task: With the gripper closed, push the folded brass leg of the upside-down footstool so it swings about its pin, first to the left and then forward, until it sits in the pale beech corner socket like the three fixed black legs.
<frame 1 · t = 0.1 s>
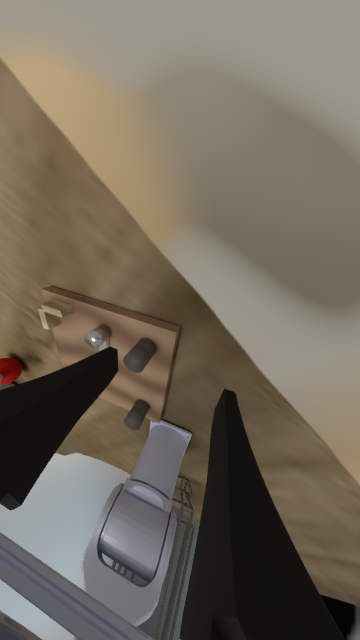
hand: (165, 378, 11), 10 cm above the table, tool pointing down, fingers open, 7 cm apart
molecular model: (20, 361, 39), on the table
stool seat: (113, 358, 28), on the table
hinged leg: (97, 357, 23), point 3 cm above the table, hinge at 0.0°
geometric lantern: (173, 480, 43), on the table
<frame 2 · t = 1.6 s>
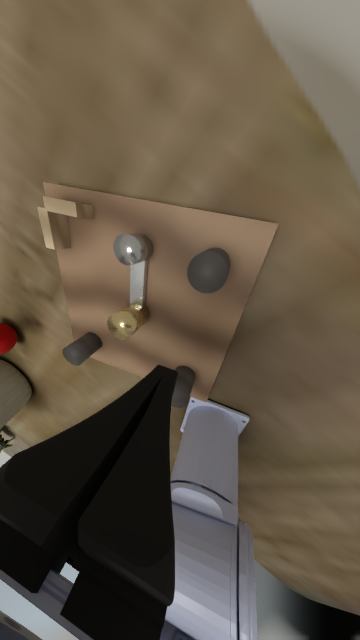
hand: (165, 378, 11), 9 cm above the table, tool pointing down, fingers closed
molecular model: (14, 330, 31), on the table
canister: (14, 375, 40), on the table
stool seat: (145, 306, 19), on the table
passion flower: (8, 430, 66), on the table
hinged leg: (130, 289, 15), point 3 cm above the table, hinge at 0.0°
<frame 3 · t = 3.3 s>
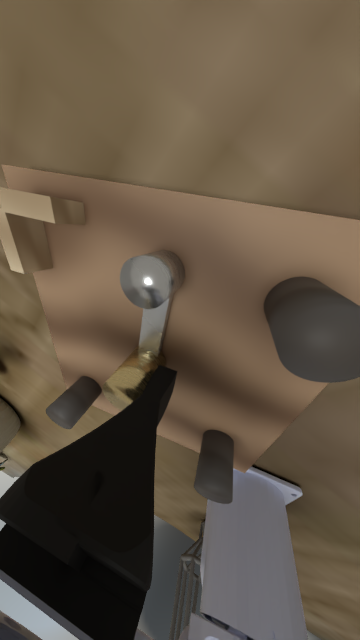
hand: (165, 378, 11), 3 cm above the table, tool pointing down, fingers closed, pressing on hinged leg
canister: (0, 404, 34), on the table
stool seat: (163, 347, 14), on the table
passion flower: (1, 451, 60), on the table
hinged leg: (142, 338, 9), point 3 cm above the table, hinge at -3.7°, touching gripper
geometric lantern: (226, 533, 29), on the table
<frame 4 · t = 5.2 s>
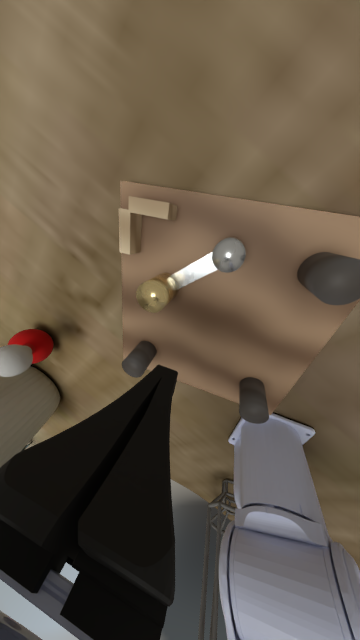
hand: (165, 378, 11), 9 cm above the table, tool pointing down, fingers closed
molecular model: (49, 336, 29), on the table
canister: (41, 382, 39), on the table
stool seat: (211, 314, 18), on the table
hinged leg: (188, 275, 13), point 3 cm above the table, hinge at -50.2°
geometric lantern: (243, 491, 33), on the table
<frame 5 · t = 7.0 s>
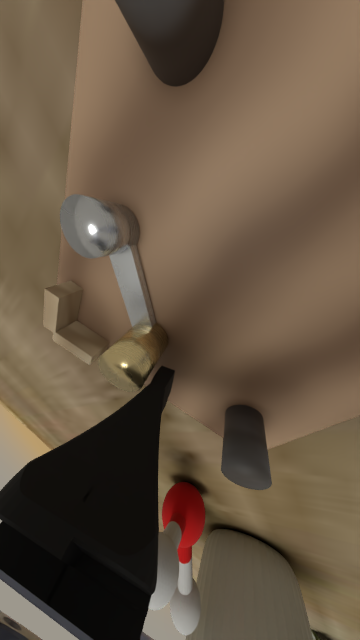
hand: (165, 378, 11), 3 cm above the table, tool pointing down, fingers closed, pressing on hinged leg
molecular model: (189, 482, 24), on the table
canister: (247, 542, 28), on the table
stool seat: (226, 290, 10), on the table
passion flower: (332, 639, 40), on the table
hinged leg: (120, 302, 9), point 3 cm above the table, hinge at -50.4°, touching gripper
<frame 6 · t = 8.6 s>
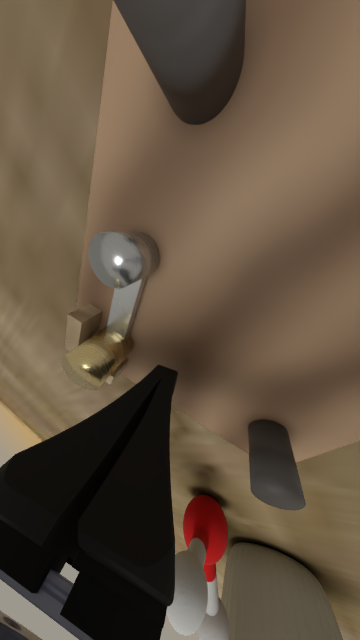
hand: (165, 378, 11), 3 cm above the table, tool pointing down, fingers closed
molecular model: (208, 494, 24), on the table
canister: (271, 556, 27), on the table
stool seat: (245, 307, 10), on the table
hinged leg: (109, 317, 9), point 3 cm above the table, hinge at -87.2°
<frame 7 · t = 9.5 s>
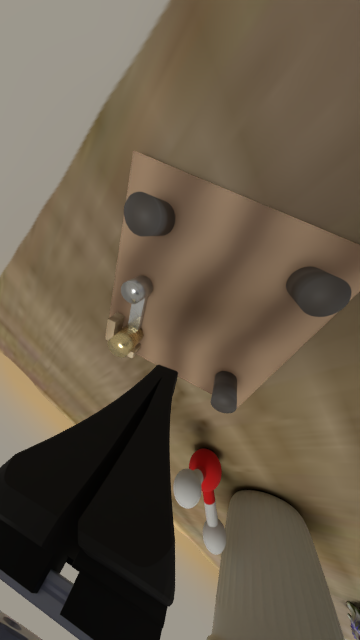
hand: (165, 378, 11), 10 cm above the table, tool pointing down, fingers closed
molecular model: (207, 449, 31), on the table
canister: (264, 502, 34), on the table
stool seat: (201, 307, 19), on the table
hinged leg: (130, 318, 18), point 3 cm above the table, hinge at -87.2°
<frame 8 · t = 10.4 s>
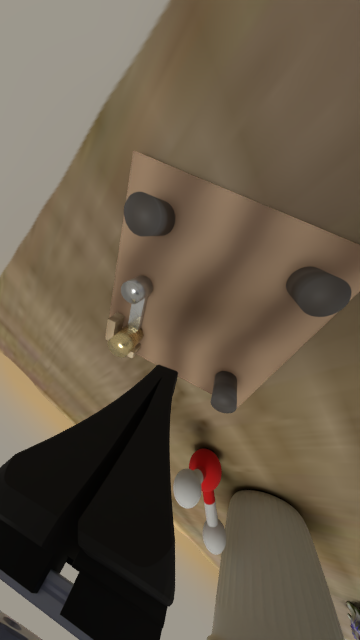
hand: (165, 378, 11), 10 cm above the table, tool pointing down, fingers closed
molecular model: (207, 449, 31), on the table
canister: (264, 502, 34), on the table
stool seat: (201, 307, 19), on the table
hinged leg: (130, 318, 18), point 3 cm above the table, hinge at -87.2°
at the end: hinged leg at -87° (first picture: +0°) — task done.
